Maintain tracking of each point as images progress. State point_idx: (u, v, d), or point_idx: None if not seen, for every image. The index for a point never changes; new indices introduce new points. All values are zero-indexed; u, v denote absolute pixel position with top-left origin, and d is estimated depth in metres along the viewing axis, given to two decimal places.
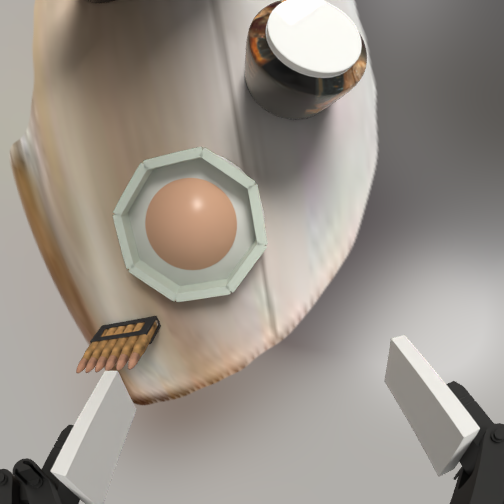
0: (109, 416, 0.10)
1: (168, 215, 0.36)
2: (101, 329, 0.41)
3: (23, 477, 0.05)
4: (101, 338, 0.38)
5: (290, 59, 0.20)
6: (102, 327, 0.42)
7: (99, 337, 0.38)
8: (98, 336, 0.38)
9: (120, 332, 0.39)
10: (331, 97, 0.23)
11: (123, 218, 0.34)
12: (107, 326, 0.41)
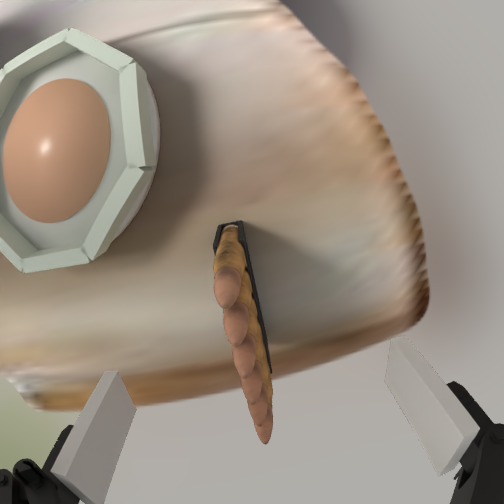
0: (109, 416, 0.10)
1: (35, 184, 0.18)
2: None
3: (23, 477, 0.05)
4: None
5: None
6: None
7: None
8: None
9: None
10: None
11: (29, 256, 0.18)
12: None
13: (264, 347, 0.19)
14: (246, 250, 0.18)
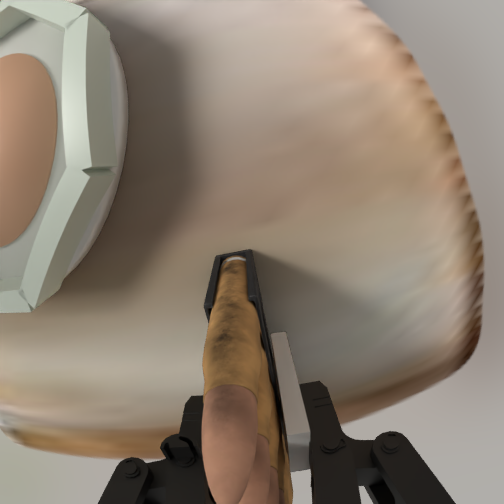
0: None
1: None
2: None
3: (171, 452, 0.07)
4: None
5: None
6: None
7: None
8: None
9: None
10: None
11: None
12: None
13: (283, 437, 0.12)
14: (260, 307, 0.11)
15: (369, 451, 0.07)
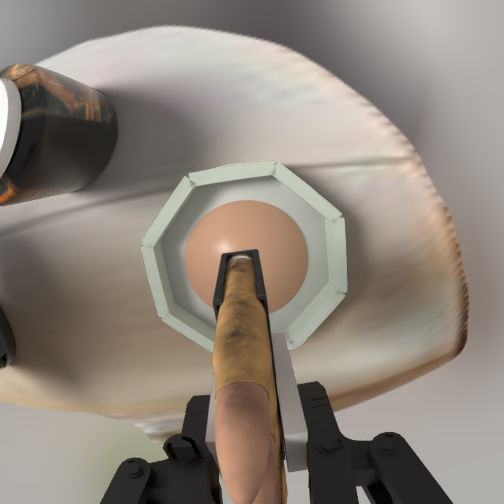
0: None
1: None
2: None
3: (173, 452, 0.07)
4: None
5: None
6: None
7: None
8: None
9: None
10: (50, 94, 0.14)
11: None
12: None
13: None
14: None
15: (366, 452, 0.07)
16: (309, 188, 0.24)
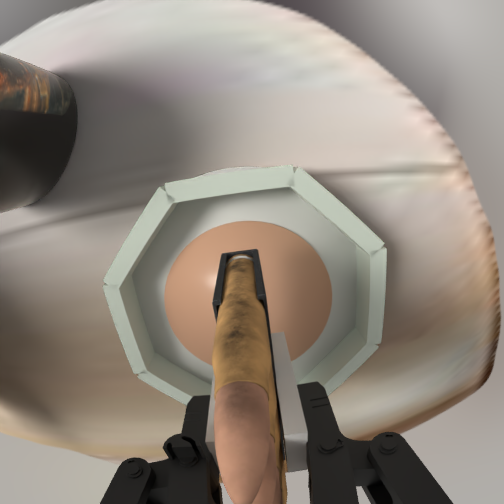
0: None
1: None
2: None
3: (173, 452, 0.07)
4: None
5: None
6: None
7: None
8: None
9: None
10: None
11: None
12: None
13: (280, 437, 0.12)
14: None
15: (366, 452, 0.07)
16: (342, 207, 0.16)
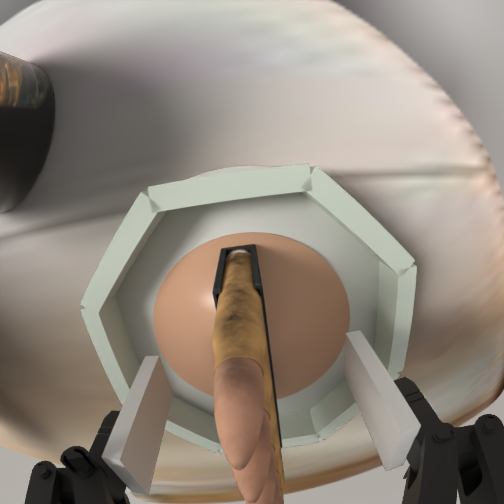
0: (153, 399, 0.11)
1: None
2: None
3: (71, 464, 0.06)
4: None
5: None
6: None
7: None
8: None
9: None
10: None
11: None
12: None
13: (277, 424, 0.12)
14: None
15: (469, 431, 0.06)
16: (369, 217, 0.13)
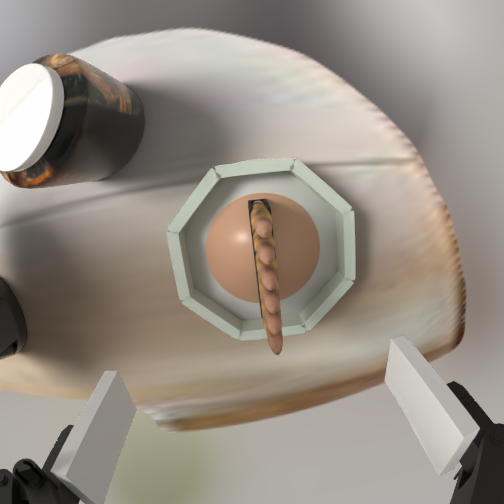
0: (109, 416, 0.10)
1: (249, 275, 0.31)
2: None
3: (23, 477, 0.05)
4: None
5: (38, 140, 0.14)
6: None
7: None
8: None
9: None
10: (92, 84, 0.16)
11: (245, 328, 0.31)
12: None
13: (277, 291, 0.26)
14: None
15: None
16: (323, 183, 0.26)
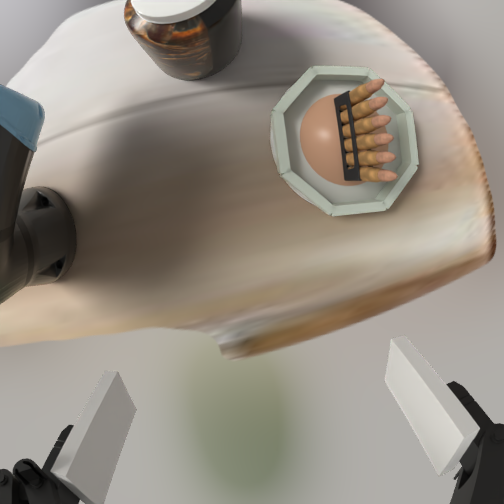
0: (109, 416, 0.10)
1: (336, 158, 0.34)
2: (347, 175, 0.33)
3: (23, 477, 0.05)
4: (356, 160, 0.29)
5: None
6: (345, 175, 0.33)
7: (355, 167, 0.30)
8: (354, 169, 0.30)
9: (350, 139, 0.30)
10: None
11: (336, 205, 0.34)
12: (344, 167, 0.33)
13: None
14: None
15: None
16: (390, 88, 0.29)
